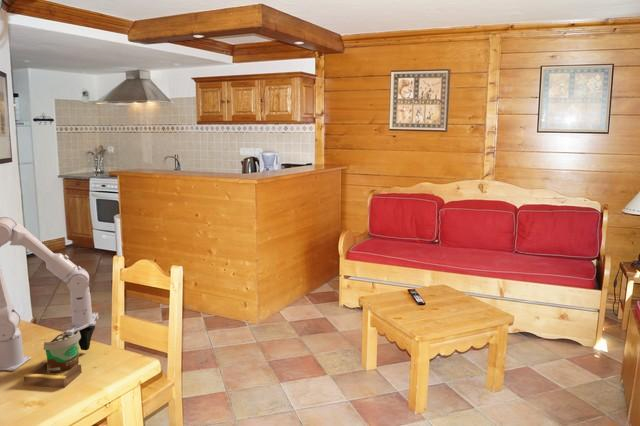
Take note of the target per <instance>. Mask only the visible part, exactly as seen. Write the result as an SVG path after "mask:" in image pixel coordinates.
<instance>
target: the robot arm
mask: <svg viewBox="0 0 640 426" xmlns="http://www.w3.org/2000/svg"><path fill="white" fill-rule="evenodd" d="M8 242H10V243H9V246H22V247H24V248H25V249H27V250H28V251H29V252H31V253H32V254H33V255H35V256H36V257H38V258H39V259H41V260H42V261H44V262H45V267H46V269H47V270H48V271H49V272H51V273H52V275H54V276H56V277H57V278H58V279H60V280H61V281H62V282H65V283H66V287H67V289H68V290H69V301H70V311H71V312H70V315H71V321H72V322H71V324H70V325H69V326H70V327H68V329H67V330H65V332H66V335H74V333H75V332H77V331H79V332H80V335H81V338H80V340H79V349H80V350H81V351H88V350H89V349H90V345H91V340H92V336H93V333H94V331H95V329H96V324H97V321H96V320H99V312H93V311H92V310H93V309H92V298H91V292H90V289H91V288H90V287H89V285H90V275H89V273H88V271H87V270H86V269H85V268H82V267H81V266H80V265H78V266H77V264H75V263H74V262H72V261H71V260H70V259H69V258H70V256H68V255H67V254H63V253H60V252H59V253H54V252H53V251H52V250H50V248H48V247H47V246H46V245H45V244H44V243H43V242H42V241H40V240H39V239H38V237H36V236H35V235H34V234H32V232H30V231H29V230H28V229H26V228H25V227H24V226H23V225H22V224H20V223H18V222H16V221H15V220H14V219H13V218H12V217H8V216H2V217H0V248H1V247H2V246H5V244H7V243H8ZM2 270H3V269H2V267H1V265H0V371H9V372H10V371H11V372H13V371H16V370H17V369H18V368H19V367H21V366H22V365H24V364H25V363H27V362H28V361H30V360H31V359H32V356H27V355H25V354H24V348H23V347H24V346H23V339H22V331H21V330H20V329H19V327H18V326H19V325H20V323H21V315H20V313H19V312H18V311H17V310H16V309H15V307H14V304H13V303H12V302H11V301H10V297H9V293H8V288H7V285H6V281H5V278H4V274H3V271H2ZM71 326H73V327H71Z"/></svg>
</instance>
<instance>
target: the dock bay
mask: <svg viewBox="0 0 640 426" xmlns="http://www.w3.org/2000/svg"><path fill="white" fill-rule="evenodd" d="M48 371H49V365H48V361H47V362H44V361H42V362H41V363H39V364H38V365H37V366H35V367H34V368H33V369H31V370H29V371H28V372H27V373H24V374H23V375H22V378H23V385H25V386H34V387H35V386H36V387H49V388H53V387H54V388H63V389H64V388H66V387H67V386H69V384H71V382H73V381H74V380H75V379H76V378H77V377H78V376H80V374H82V373H83V370H82V364H79V363H78V364H76V365H75V366H74V367H72V368H71V369H70V370H68V371H65V373H64V374H63V375H58V374H57V375H54V374H46V373H47V372H48Z"/></svg>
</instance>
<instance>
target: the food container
mask: <svg viewBox="0 0 640 426" xmlns="http://www.w3.org/2000/svg"><path fill="white" fill-rule="evenodd" d="M69 327H70V325H69ZM69 327H68V328H69ZM71 327H73V326H71ZM80 338H81V335H80V332H79V331H77V332H75V333H74V335H66V331H65V332H63V333H60V334H59V335H57V336H56V337H54V338H53V339H52V340H50V341H49V342H48V341H44V342H43V350H44V351H45V355H46V360H47V365H48V371H49V373H50V374H58V373H64V372H68V371H69V370H70V369H71V368H72V367H74V366H75V365H76V364H78V365H79V362H80V359H79V349H80V346H79V340H80Z"/></svg>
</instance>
